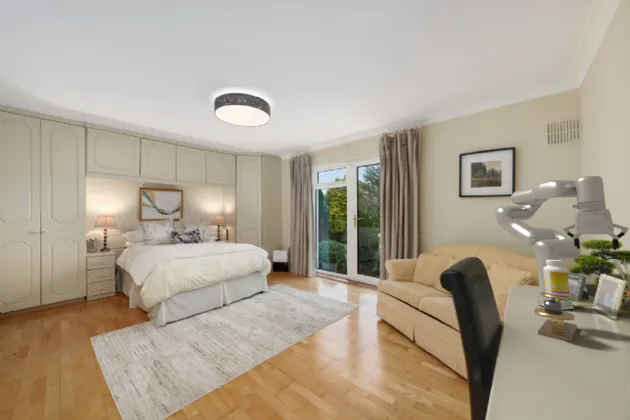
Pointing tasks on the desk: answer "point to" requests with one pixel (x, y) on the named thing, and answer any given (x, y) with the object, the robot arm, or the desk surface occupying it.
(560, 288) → the supplement bottle
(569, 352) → the desk surface
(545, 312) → the balance
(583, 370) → the desk surface
